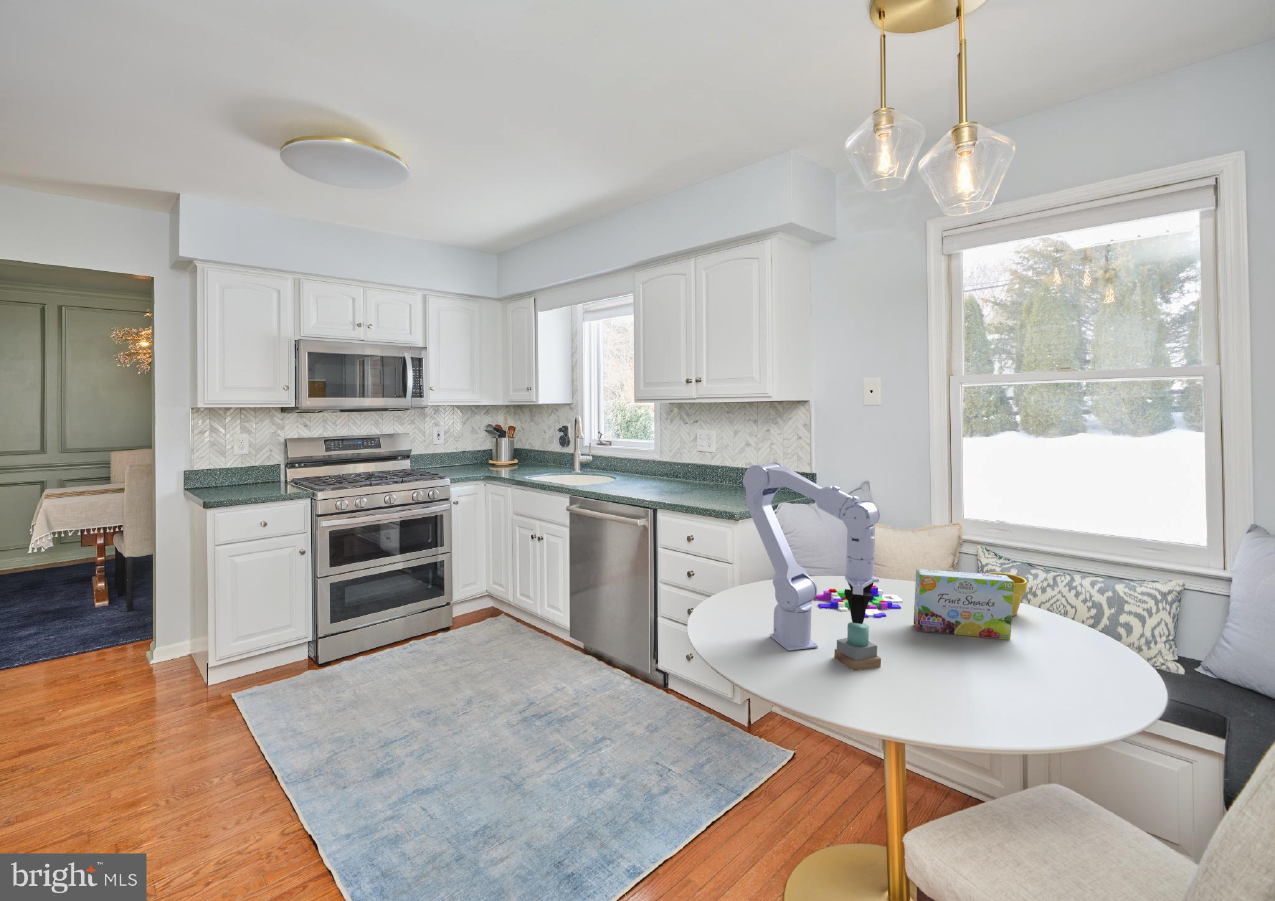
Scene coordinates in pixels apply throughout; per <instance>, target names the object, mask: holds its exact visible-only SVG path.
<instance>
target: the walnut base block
mask: <svg viewBox="0 0 1275 901" xmlns="http://www.w3.org/2000/svg"><path fill="white" fill-rule="evenodd" d="M834 658H835V659H836V660H837V659H838V660H837V661H838V662H840V663H842V665H844V664H845V665H844V666H845V667H847V668H848V669H850V670H851V669H852V670H854V671H860V670H859V669H862V670H866V669H876V668H881V667H882V664H881V663H882V658H881V657H879V656H878V655H877V656H876V657H872V658H867V659H863V660H858V661H855V660H853V659H851V658H849V657H848V656H846V655H844V654H842V653H840V652H838V651H837V648H834ZM852 670H851V671H852Z"/></svg>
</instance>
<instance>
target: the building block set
mask: <svg viewBox="0 0 1275 901" xmlns="http://www.w3.org/2000/svg"><path fill="white" fill-rule="evenodd" d="M844 591H845V590H837V589H836V588H828V590H823V593H822V594H820V593H819V594H818V593H817V595H816V597H815V598H814V599H813V600H814V601H829V603H819V602H818V604H817V605H818V607H819V609H821V608H826V609H827V608H830V609H831V610H832V609H837V610H838V611H840V612H848V610H849V609H850V607H849V603H848V600H847V598H846V596H845V594H844ZM869 593H872V598H871V599H870V601H871V602H870V601H869V603H868V605H867V608H866V612H865V617H864V619H869V617H870V618H871V617H873V618H876V619H881V618H886V617H887V614H886V613H885V612H881V611H880V610H888V609H891V610H892V609H893V610H895V609H896V610H897V609H898V610H901V609H902V607H901V605H900V604H901V603H904V601H903V599H902V598H900V597H899V596H898V595H896V594H884V591H883V590H882V589H880V588H879V587H878V586H876V585H875V584H873V586H872V587H871V589H870V591H869ZM889 598H890V599H889ZM894 603H895V604H894ZM897 603H898V604H897ZM899 603H900V604H899ZM878 609H880V610H878Z"/></svg>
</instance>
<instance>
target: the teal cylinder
mask: <svg viewBox="0 0 1275 901" xmlns="http://www.w3.org/2000/svg"><path fill="white" fill-rule="evenodd" d="M869 628H870V626H869V624H868V623H864V622H863V624H858V623H853V622H852V621H850V622H848V623H847V637H846V638H847V642H848V644H850V645H852V646H856V647H865V646H868V641H869V636H870V635H869V632H870V631H869V630H870V629H869Z"/></svg>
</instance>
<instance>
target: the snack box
mask: <svg viewBox="0 0 1275 901" xmlns="http://www.w3.org/2000/svg"><path fill="white" fill-rule="evenodd" d="M914 590H915V591H914V606H913V625H914V627H915V629H916V631H917V632H924V633H925V632H926V633H936V634H946V635H956V636H966V637H967V636H968V637H976V638H977V637H978V638H987V639H995V640H996V639H998V640H1006V641H1007V640H1011V637H1012V636H1011V633H1012V620H1013V619H1012V618H1013V616H1012V609H1013V595H1014V581H1013V580H1011V579H1010V578H1009V577H1008V576H1006V575H994V574H986V573H978V572H966V571H965V572H963V571H948V570H934V569H922V568H916V570H915V587H914Z"/></svg>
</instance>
